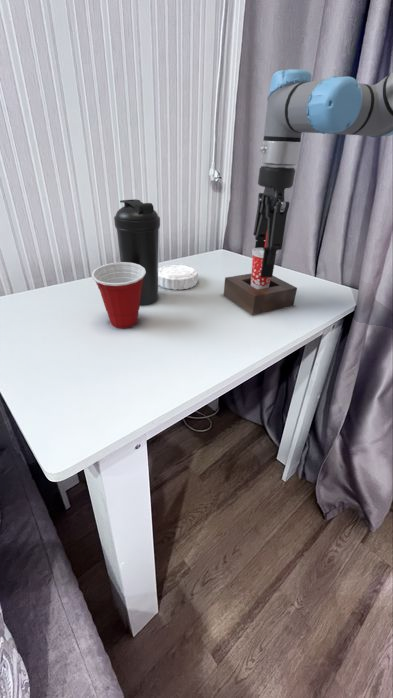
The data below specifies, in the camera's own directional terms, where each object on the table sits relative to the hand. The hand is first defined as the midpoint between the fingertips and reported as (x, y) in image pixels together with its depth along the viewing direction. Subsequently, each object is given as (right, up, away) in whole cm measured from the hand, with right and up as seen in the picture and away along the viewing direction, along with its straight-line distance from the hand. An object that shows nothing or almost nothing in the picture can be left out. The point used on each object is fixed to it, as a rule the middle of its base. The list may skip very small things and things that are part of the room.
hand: (261, 271), depth 82 cm
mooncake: (-22, 0, +13) cm, 26 cm away
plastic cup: (-32, -14, -9) cm, 36 cm away
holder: (0, -7, +4) cm, 8 cm away
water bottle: (-30, -7, +3) cm, 31 cm away
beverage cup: (0, -3, +2) cm, 4 cm away
